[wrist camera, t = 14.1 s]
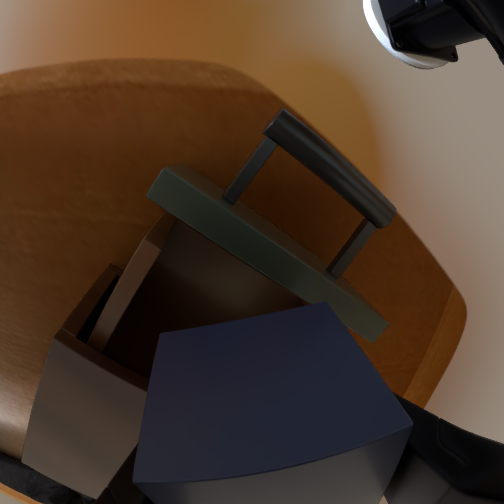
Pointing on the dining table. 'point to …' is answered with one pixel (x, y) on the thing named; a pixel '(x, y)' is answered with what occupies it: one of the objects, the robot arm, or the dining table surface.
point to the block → (268, 415)
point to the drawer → (235, 254)
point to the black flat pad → (37, 484)
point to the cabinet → (84, 403)
